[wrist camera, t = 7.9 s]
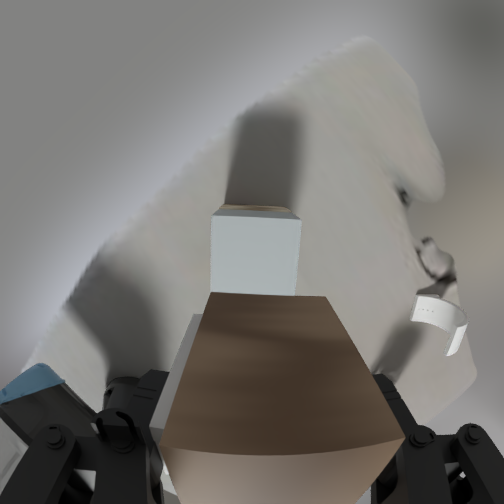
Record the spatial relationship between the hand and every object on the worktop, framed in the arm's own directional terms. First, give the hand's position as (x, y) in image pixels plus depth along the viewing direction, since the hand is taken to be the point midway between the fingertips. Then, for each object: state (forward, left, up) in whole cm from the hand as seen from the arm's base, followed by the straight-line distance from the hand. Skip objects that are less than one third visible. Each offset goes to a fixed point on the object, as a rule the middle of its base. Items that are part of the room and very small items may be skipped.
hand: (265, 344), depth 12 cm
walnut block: (0, 0, 0) cm, 0 cm away
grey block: (0, 0, -20) cm, 20 cm away
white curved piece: (+30, -10, -26) cm, 41 cm away
